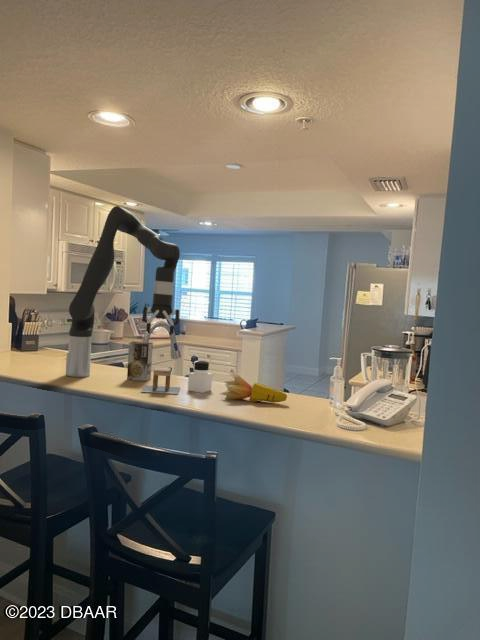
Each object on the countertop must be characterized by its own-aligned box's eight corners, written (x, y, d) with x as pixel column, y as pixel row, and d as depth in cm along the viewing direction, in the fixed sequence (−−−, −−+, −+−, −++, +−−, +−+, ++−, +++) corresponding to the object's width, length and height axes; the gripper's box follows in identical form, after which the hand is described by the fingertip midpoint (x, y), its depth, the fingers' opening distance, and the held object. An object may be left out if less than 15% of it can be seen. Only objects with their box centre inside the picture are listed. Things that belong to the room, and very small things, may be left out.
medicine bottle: (211, 390, 186) (213, 361, 185) (202, 393, 179) (204, 363, 178) (196, 387, 189) (198, 359, 188) (187, 390, 182) (189, 361, 181)
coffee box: (151, 378, 201) (153, 342, 200) (146, 381, 195) (149, 344, 194) (131, 376, 202) (133, 340, 201) (126, 379, 195) (128, 342, 194)
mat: (140, 392, 173) (140, 391, 172) (145, 386, 184) (145, 384, 184) (177, 394, 173) (177, 393, 173) (180, 388, 185) (180, 387, 185)
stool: (154, 387, 182) (155, 367, 181) (169, 388, 182) (170, 368, 182) (152, 390, 176) (153, 370, 175) (168, 391, 176) (169, 371, 176)
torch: (282, 415, 169) (218, 399, 173) (286, 401, 176) (223, 386, 179) (286, 398, 165) (220, 383, 168) (289, 385, 171) (225, 370, 175)
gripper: (182, 294, 183) (178, 334, 184) (146, 291, 182) (143, 331, 183) (180, 294, 175) (176, 336, 176) (143, 291, 175) (139, 333, 175)
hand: (159, 334), depth 179 cm, fingers open, 8 cm apart
